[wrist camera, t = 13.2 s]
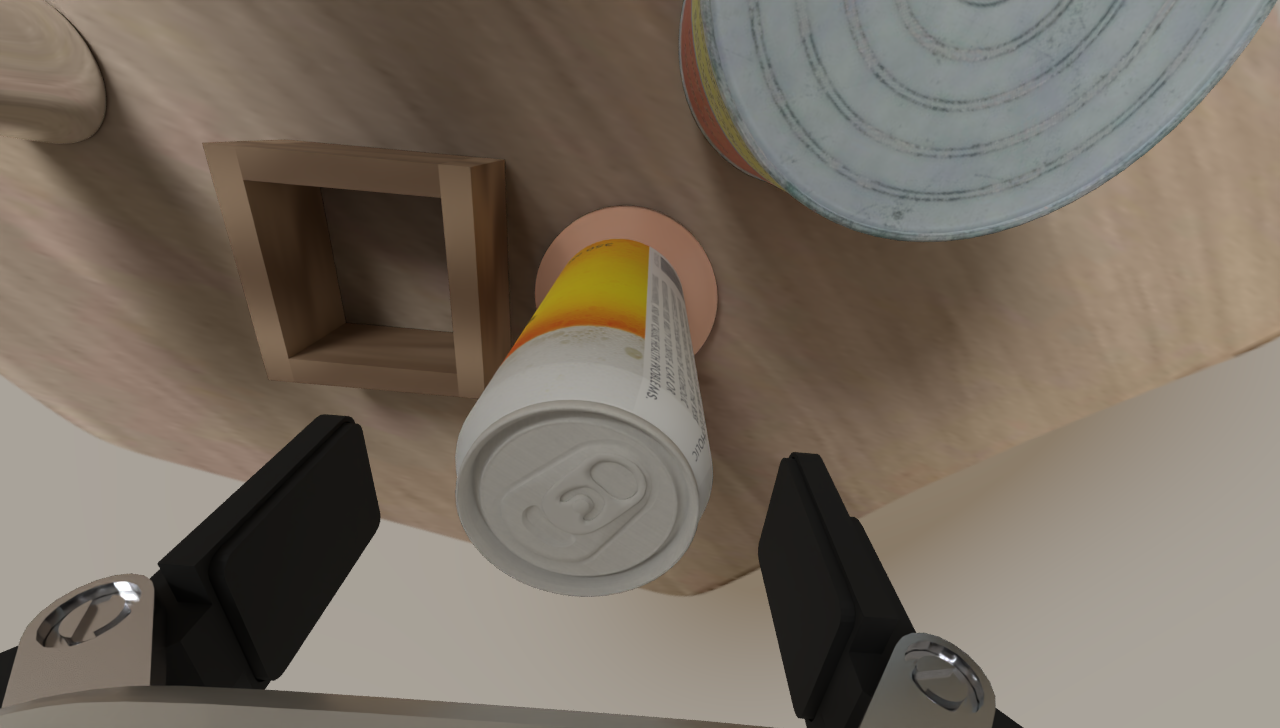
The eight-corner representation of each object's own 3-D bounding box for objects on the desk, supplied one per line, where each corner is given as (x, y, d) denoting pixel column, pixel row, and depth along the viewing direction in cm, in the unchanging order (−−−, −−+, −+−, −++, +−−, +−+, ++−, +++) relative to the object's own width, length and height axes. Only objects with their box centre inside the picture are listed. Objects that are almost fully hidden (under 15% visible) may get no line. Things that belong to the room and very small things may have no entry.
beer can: (533, 293, 24) (379, 502, 11) (623, 206, 22) (573, 326, 9) (618, 375, 26) (579, 643, 13) (708, 301, 24) (776, 521, 11)
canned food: (937, 174, 22) (1202, 221, 11) (685, 196, 23) (707, 260, 12) (993, -169, 17) (1551, -662, 6) (670, -126, 18) (685, -500, 7)
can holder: (285, 139, 22) (201, 142, 18) (504, 159, 22) (470, 167, 18) (327, 341, 27) (268, 380, 23) (511, 358, 27) (485, 399, 23)
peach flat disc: (537, 197, 23) (533, 199, 22) (729, 214, 23) (731, 217, 22) (539, 368, 27) (535, 375, 26) (702, 383, 27) (704, 390, 26)
